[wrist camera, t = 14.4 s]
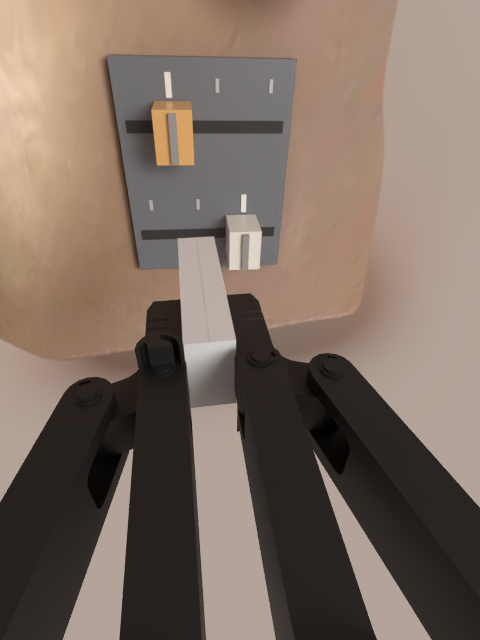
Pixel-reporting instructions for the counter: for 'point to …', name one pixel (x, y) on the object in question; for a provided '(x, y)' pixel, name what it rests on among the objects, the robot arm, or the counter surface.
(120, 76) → the fader board
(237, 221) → the cream fader
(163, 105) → the orange fader
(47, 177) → the counter surface
